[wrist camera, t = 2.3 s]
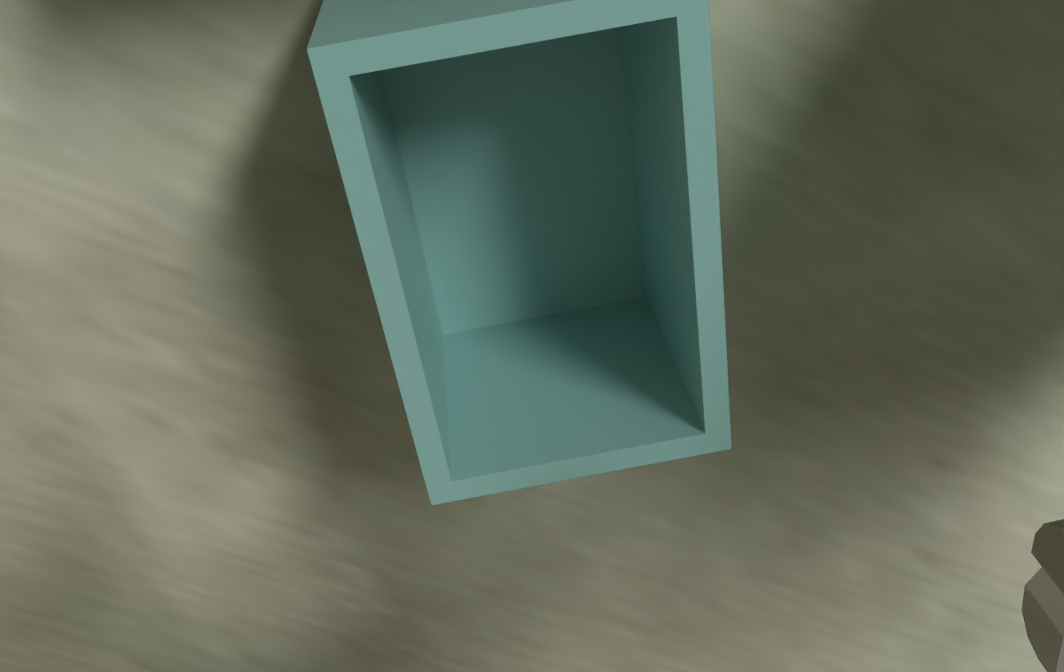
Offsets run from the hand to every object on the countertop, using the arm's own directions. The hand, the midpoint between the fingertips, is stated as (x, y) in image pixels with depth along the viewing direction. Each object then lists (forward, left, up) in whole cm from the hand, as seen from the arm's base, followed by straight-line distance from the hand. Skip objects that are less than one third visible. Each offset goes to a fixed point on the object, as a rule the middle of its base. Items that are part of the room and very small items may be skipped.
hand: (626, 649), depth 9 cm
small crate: (0, 0, -14) cm, 14 cm away
